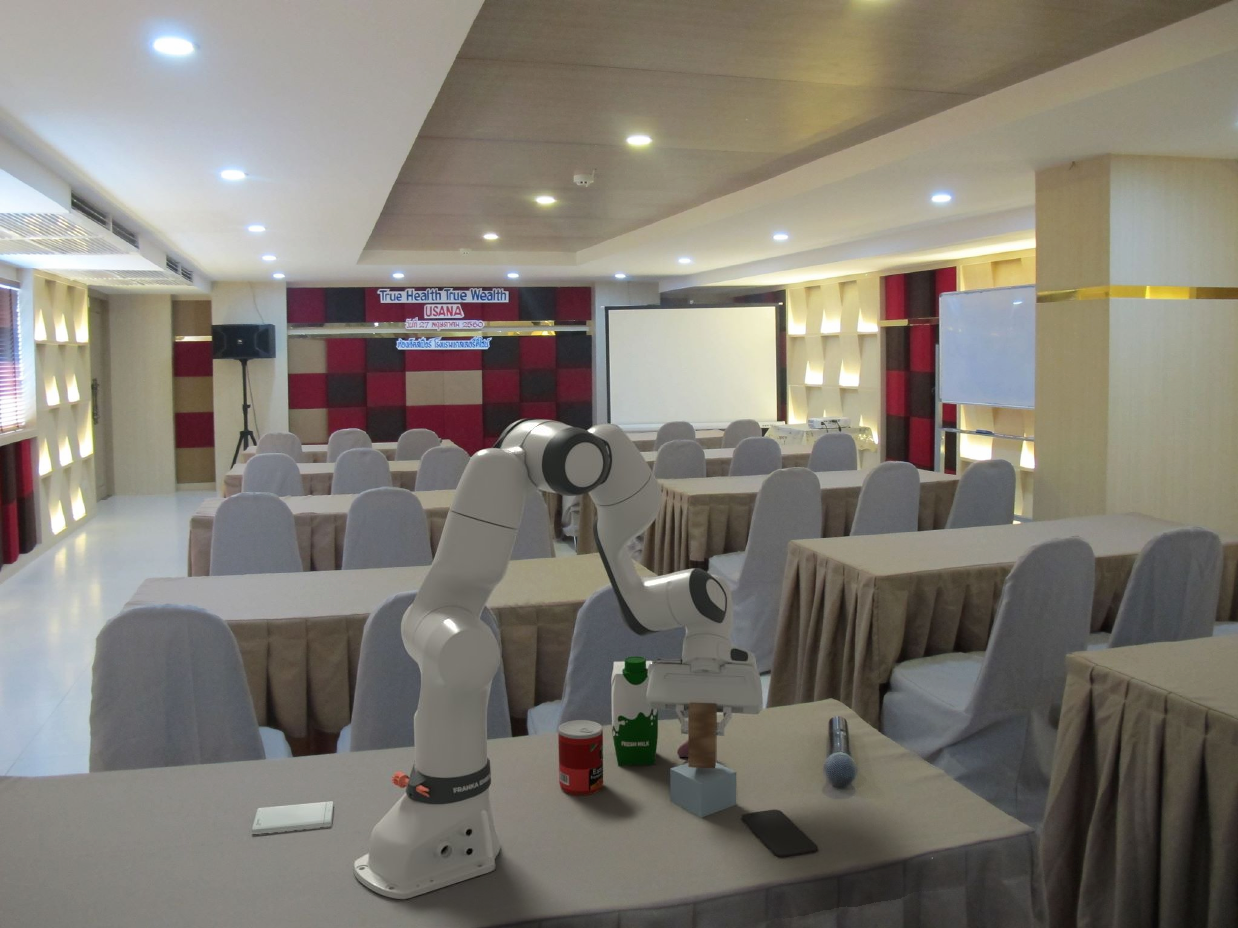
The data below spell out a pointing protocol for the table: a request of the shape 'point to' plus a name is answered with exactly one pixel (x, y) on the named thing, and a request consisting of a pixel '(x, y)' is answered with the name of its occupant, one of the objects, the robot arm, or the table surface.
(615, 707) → the milk carton
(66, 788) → the table surface
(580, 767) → the canned food
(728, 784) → the base block
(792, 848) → the phone
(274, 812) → the hard drive
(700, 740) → the walnut post
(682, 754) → the video game controller
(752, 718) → the table surface
